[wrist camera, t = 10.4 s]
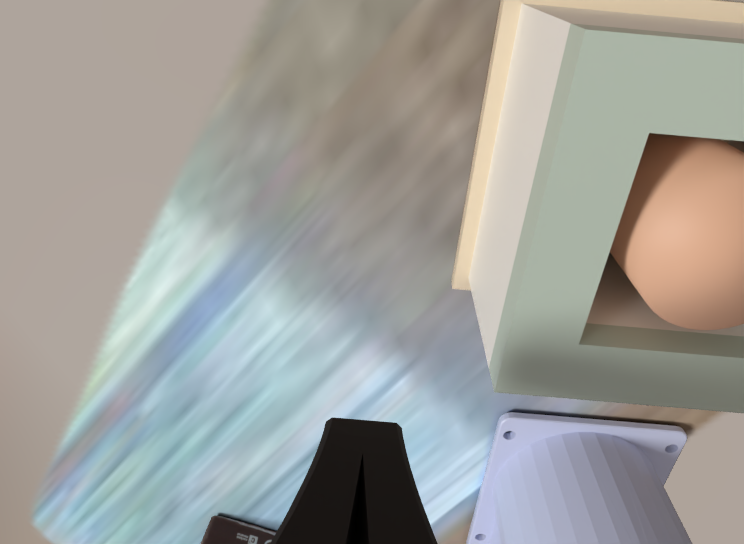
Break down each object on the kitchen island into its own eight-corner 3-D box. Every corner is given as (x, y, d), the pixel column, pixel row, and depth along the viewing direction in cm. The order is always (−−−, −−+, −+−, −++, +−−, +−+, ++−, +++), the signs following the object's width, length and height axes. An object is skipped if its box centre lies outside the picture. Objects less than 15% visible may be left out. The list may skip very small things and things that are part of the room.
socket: (716, 304, 21) (835, 434, 15) (451, 281, 21) (472, 404, 15) (852, 12, 16) (1105, 46, 10) (504, -19, 16) (565, -3, 10)
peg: (672, 230, 19) (778, 336, 14) (555, 221, 19) (617, 323, 14) (717, 111, 17) (861, 182, 12) (586, 101, 17) (672, 167, 12)
